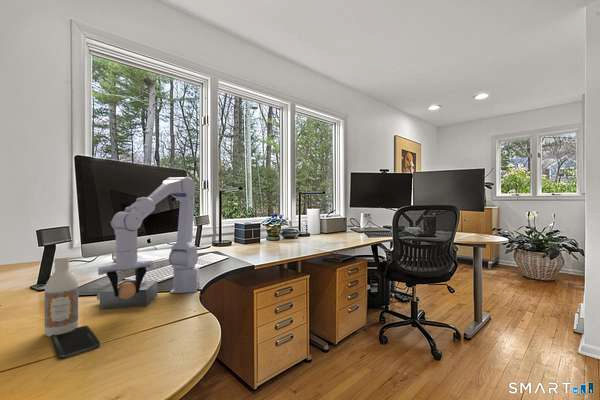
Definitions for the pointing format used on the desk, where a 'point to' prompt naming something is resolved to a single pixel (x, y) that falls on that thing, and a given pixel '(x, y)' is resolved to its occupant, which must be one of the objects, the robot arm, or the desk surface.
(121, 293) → the bead
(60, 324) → the bath foam
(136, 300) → the grey box with opening
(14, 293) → the desk surface
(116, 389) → the desk surface
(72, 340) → the phone
